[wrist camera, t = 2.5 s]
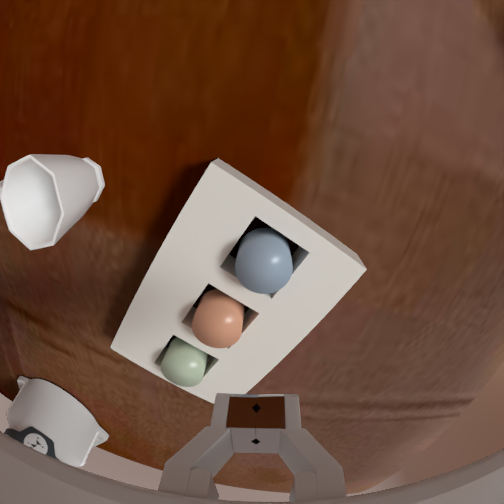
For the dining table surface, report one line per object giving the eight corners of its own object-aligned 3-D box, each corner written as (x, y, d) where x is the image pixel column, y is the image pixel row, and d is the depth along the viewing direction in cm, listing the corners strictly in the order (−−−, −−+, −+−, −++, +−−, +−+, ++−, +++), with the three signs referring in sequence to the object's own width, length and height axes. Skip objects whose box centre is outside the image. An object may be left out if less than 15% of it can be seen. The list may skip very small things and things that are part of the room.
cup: (114, 225, 25) (64, 262, 18) (35, 205, 25) (-18, 232, 17) (122, 147, 22) (66, 159, 15) (39, 137, 22) (-21, 149, 15)
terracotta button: (229, 333, 27) (225, 355, 24) (191, 312, 26) (183, 332, 24) (253, 304, 26) (251, 325, 23) (213, 280, 25) (206, 299, 22)
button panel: (229, 390, 32) (227, 409, 30) (120, 330, 30) (110, 347, 27) (356, 254, 25) (366, 269, 22) (217, 158, 23) (211, 162, 20)
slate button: (270, 283, 25) (270, 303, 22) (229, 257, 24) (224, 275, 21) (300, 246, 23) (304, 262, 21) (257, 217, 23) (255, 230, 20)
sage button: (196, 371, 29) (191, 392, 27) (162, 353, 29) (154, 373, 26) (215, 349, 28) (210, 371, 25) (179, 329, 27) (170, 350, 24)
